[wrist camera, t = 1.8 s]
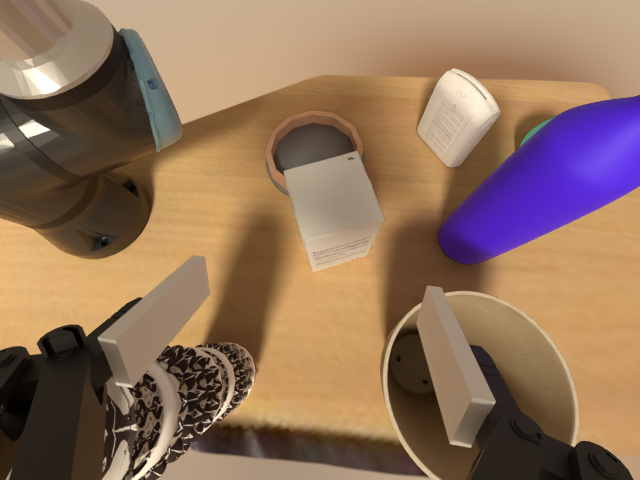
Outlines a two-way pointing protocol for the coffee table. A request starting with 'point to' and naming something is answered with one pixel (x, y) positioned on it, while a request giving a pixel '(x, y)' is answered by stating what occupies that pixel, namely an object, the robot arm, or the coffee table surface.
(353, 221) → the supplement box
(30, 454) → the robot arm
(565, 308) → the coffee table surface
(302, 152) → the ringed saucer
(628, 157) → the bottle
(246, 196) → the coffee table surface
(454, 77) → the photo printer
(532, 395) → the plant pot
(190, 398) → the decorative candle
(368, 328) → the coffee table surface
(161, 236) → the coffee table surface
